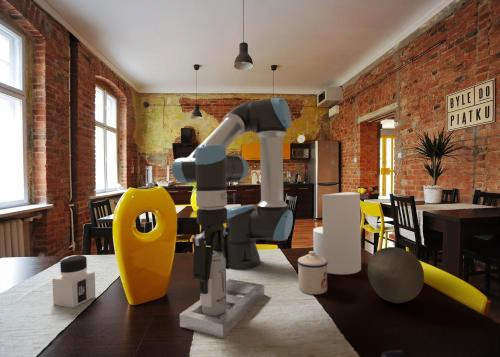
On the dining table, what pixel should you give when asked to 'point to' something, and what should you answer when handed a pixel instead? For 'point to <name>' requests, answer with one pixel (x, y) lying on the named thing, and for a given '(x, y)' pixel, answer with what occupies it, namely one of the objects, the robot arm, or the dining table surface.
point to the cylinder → (340, 233)
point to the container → (73, 282)
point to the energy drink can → (217, 286)
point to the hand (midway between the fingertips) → (214, 299)
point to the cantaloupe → (395, 274)
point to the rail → (233, 314)
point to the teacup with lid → (312, 273)
